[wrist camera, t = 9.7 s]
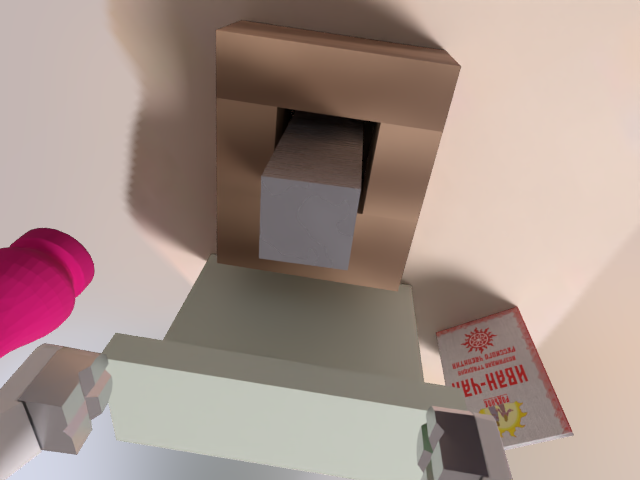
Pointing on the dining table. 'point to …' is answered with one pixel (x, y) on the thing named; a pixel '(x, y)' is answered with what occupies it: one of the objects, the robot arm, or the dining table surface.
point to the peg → (312, 191)
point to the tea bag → (503, 378)
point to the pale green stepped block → (281, 376)
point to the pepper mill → (39, 285)
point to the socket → (338, 100)
